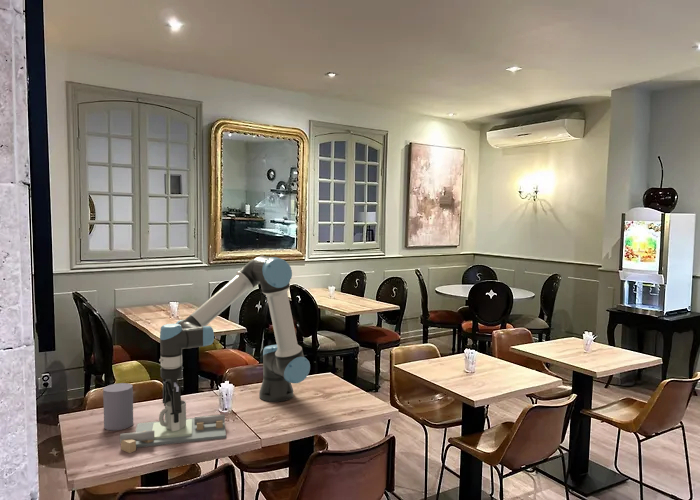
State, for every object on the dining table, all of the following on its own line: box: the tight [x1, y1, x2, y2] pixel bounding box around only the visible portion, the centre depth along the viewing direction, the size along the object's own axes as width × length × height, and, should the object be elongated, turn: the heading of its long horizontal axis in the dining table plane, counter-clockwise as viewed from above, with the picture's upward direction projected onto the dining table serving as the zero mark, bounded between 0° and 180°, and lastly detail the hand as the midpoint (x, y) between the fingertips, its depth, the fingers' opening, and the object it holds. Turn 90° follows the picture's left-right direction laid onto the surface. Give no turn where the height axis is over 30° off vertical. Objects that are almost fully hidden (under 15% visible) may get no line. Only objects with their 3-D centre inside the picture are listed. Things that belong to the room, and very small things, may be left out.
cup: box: [158, 399, 187, 430], centre depth 198 cm, size 7×10×9 cm
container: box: [102, 382, 134, 432], centre depth 204 cm, size 10×10×15 cm
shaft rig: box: [119, 414, 227, 454], centre depth 197 cm, size 36×24×5 cm
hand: (172, 426), depth 199 cm, fingers closed on cup, 7 cm apart
